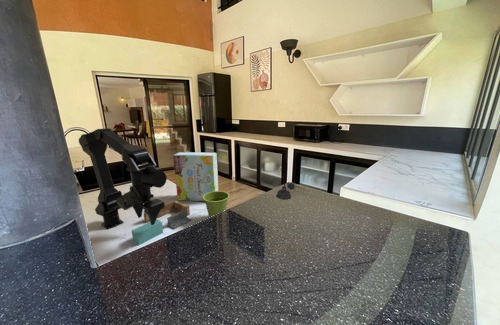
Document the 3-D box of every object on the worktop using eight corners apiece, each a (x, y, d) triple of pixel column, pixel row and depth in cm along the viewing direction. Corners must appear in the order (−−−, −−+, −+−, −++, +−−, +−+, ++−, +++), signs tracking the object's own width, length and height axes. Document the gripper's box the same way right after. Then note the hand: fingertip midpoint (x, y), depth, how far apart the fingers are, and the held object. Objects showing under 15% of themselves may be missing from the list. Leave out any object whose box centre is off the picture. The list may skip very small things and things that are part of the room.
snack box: (219, 195, 121) (217, 152, 114) (215, 202, 113) (213, 155, 106) (183, 194, 123) (179, 151, 116) (176, 200, 115) (172, 154, 108)
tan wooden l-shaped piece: (144, 222, 93) (143, 212, 92) (175, 208, 106) (174, 200, 105) (158, 230, 87) (157, 220, 86) (189, 214, 100) (189, 205, 99)
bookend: (168, 226, 90) (167, 217, 89) (185, 217, 97) (184, 209, 96) (174, 229, 88) (173, 220, 87) (191, 220, 95) (190, 212, 94)
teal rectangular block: (133, 241, 80) (131, 230, 79) (157, 229, 88) (156, 219, 87) (138, 245, 78) (136, 234, 76) (163, 233, 86) (161, 222, 84)
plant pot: (229, 211, 103) (228, 189, 100) (230, 224, 92) (230, 200, 89) (204, 213, 101) (203, 191, 98) (203, 226, 90) (201, 202, 87)
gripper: (105, 183, 76) (112, 222, 80) (131, 196, 65) (137, 240, 69) (136, 175, 85) (141, 211, 89) (163, 185, 74) (167, 225, 78)
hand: (146, 220), depth 81 cm, fingers open, 9 cm apart
